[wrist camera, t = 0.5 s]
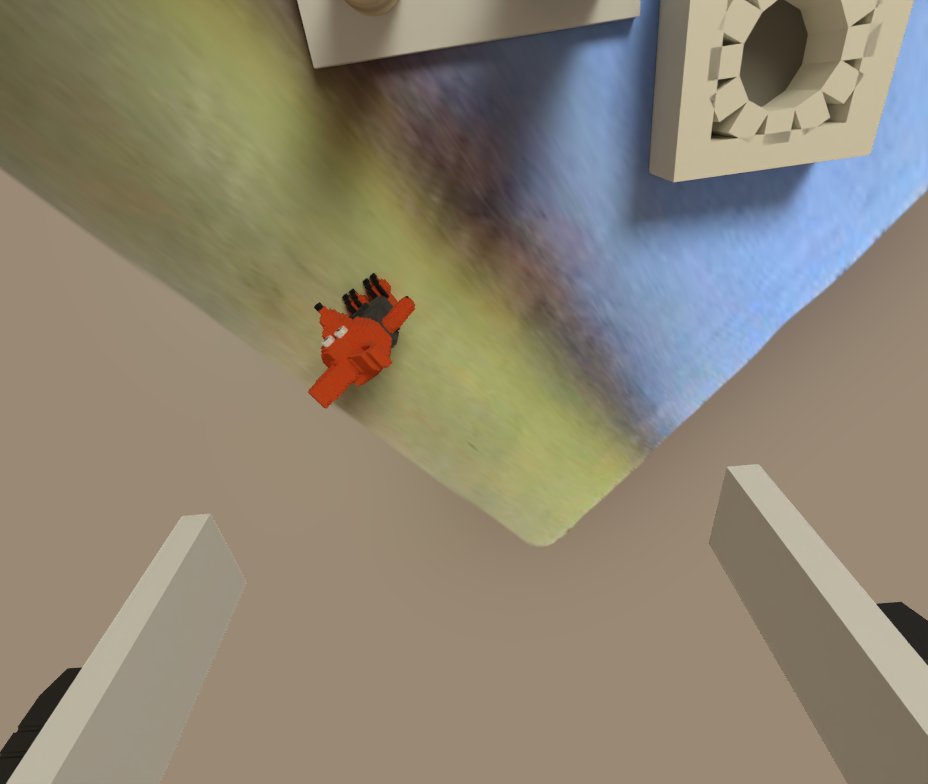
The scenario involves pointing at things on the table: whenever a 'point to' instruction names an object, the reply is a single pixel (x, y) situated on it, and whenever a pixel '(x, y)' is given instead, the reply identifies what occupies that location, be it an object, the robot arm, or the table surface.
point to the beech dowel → (372, 6)
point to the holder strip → (441, 25)
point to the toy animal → (359, 338)
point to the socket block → (769, 82)
